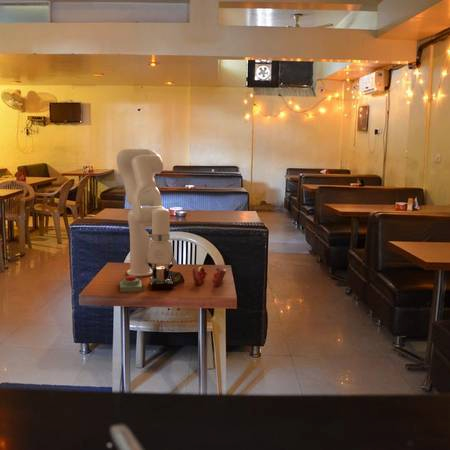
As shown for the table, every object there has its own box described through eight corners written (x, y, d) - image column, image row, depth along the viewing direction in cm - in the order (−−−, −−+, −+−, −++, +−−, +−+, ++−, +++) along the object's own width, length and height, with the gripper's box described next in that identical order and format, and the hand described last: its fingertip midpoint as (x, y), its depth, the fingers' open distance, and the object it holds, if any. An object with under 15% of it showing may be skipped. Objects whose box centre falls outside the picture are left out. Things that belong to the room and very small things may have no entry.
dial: (154, 280, 223) (154, 267, 222) (157, 278, 227) (157, 265, 226) (164, 281, 222) (164, 268, 221) (167, 278, 226) (167, 266, 225)
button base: (120, 285, 226) (120, 276, 225) (140, 284, 227) (140, 276, 227) (120, 292, 216) (119, 283, 215) (141, 291, 218) (141, 282, 217)
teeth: (195, 262, 237) (227, 264, 235) (195, 278, 239) (227, 281, 236) (190, 268, 227) (223, 271, 224) (190, 285, 229) (223, 288, 226)
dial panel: (149, 283, 230) (149, 276, 229) (170, 282, 231) (170, 275, 231) (151, 290, 219) (151, 283, 218) (172, 289, 221) (172, 282, 220)
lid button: (125, 279, 222) (125, 275, 222) (135, 279, 223) (135, 275, 223) (126, 281, 219) (125, 277, 218) (135, 281, 219) (135, 277, 219)
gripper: (139, 238, 219) (139, 279, 222) (177, 240, 216) (177, 282, 219) (144, 234, 226) (144, 274, 229) (182, 236, 224) (181, 277, 227)
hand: (160, 277), depth 224 cm, fingers closed on dial, 4 cm apart
